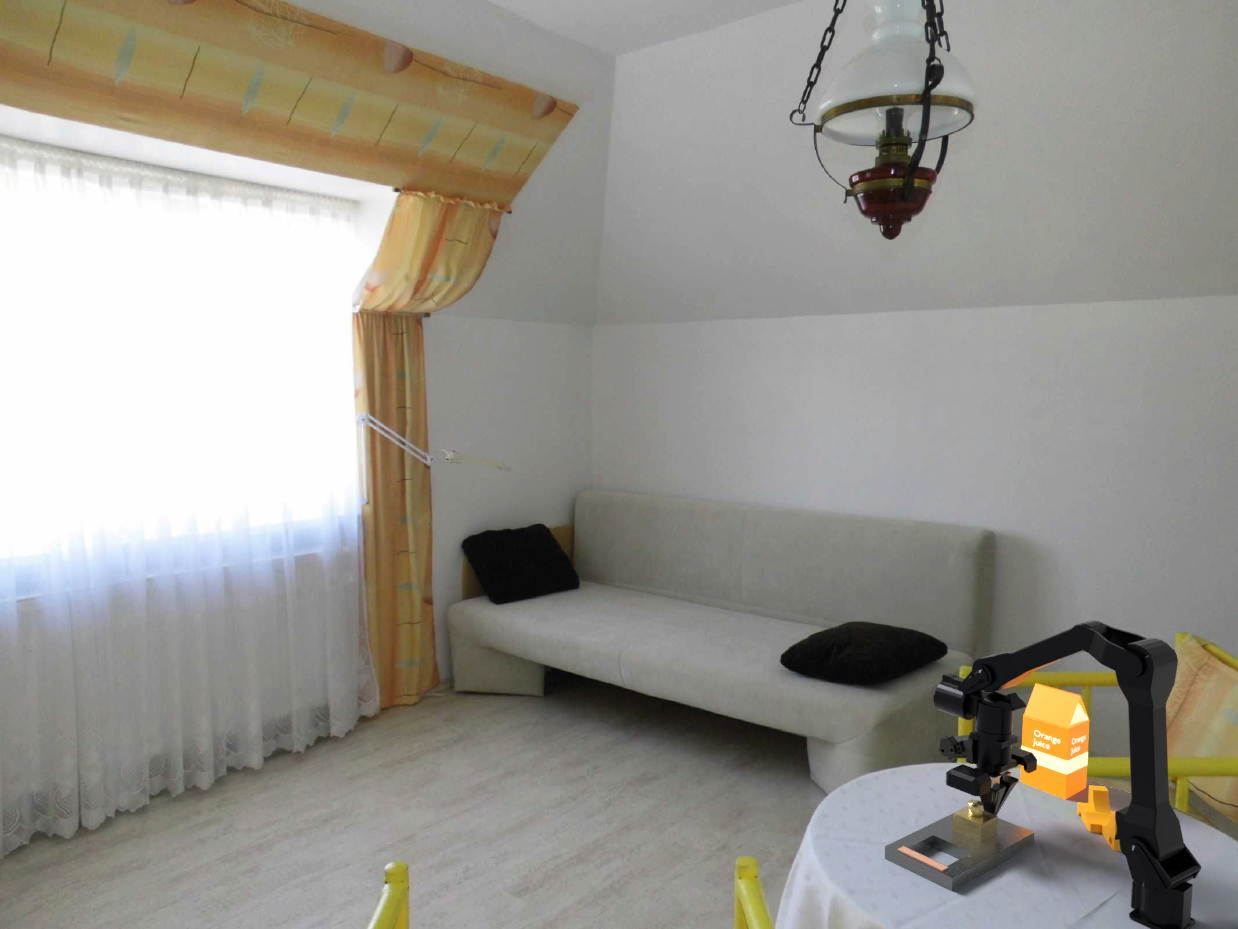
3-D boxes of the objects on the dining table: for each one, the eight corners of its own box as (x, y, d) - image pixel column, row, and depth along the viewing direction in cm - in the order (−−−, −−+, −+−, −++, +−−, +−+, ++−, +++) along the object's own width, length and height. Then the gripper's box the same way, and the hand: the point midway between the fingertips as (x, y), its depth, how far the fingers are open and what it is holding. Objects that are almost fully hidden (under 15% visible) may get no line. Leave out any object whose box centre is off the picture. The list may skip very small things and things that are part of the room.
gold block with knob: (996, 833, 149) (998, 804, 149) (980, 842, 146) (981, 812, 146) (969, 822, 153) (970, 793, 153) (952, 830, 150) (953, 801, 150)
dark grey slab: (1033, 844, 150) (1034, 831, 150) (951, 891, 136) (952, 877, 135) (967, 817, 160) (968, 804, 160) (884, 858, 145) (885, 845, 145)
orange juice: (1064, 806, 164) (1070, 699, 163) (1018, 789, 171) (1023, 686, 170) (1086, 796, 169) (1091, 691, 167) (1040, 779, 176) (1045, 679, 174)
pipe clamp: (1076, 820, 159) (1078, 784, 159) (1102, 822, 159) (1104, 786, 158) (1102, 854, 148) (1104, 815, 147) (1130, 856, 147) (1132, 817, 146)
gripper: (980, 704, 164) (977, 788, 165) (919, 726, 152) (916, 816, 153) (1040, 722, 155) (1036, 810, 156) (980, 747, 143) (976, 842, 145)
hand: (990, 818), depth 153 cm, fingers closed
